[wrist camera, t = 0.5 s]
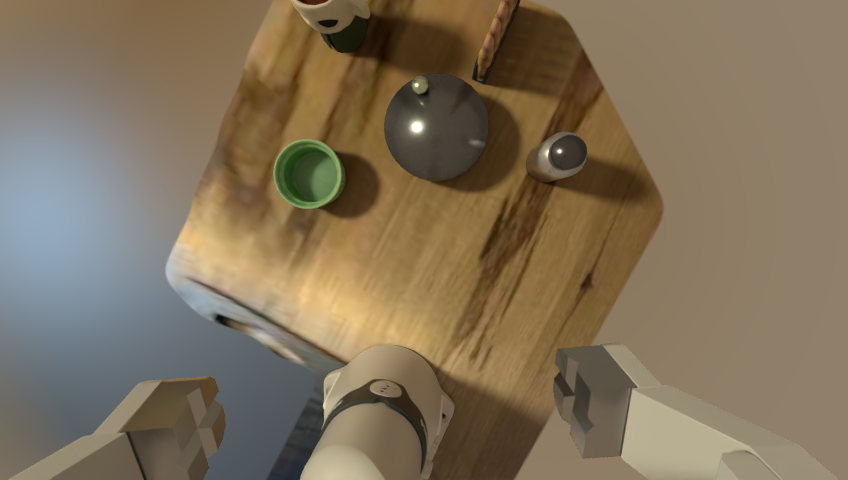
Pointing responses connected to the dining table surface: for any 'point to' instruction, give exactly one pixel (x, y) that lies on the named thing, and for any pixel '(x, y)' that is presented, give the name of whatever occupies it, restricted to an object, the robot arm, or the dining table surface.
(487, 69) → the ammunition clip
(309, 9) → the character mug
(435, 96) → the grey lid
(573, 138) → the clear bottle
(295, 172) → the ramekin
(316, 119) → the dining table surface
